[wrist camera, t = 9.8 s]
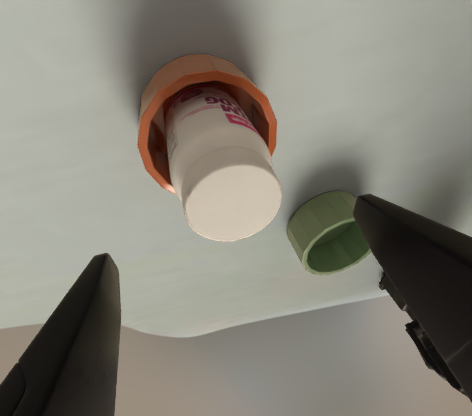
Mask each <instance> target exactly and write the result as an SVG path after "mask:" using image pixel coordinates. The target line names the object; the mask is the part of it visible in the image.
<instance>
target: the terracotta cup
mask: <svg viewBox="0 0 472 416" xmlns="http://www.w3.org/2000/svg"><path fill="white" fill-rule="evenodd" d="M198 84H210V85H215V86H218V87H220V88H222V89H224V90H226V91H227V92H229V93H230V94H231V95H232V96H233V97H234V99H235V100H236V101H237V103H238V104H239V106H240V107H241V108H242V110H243V112H244V113H245V114H246V116H247V117H248V119H249V120H250V122H251V123H252V125H253V126H254V128H255V129H256V130H257V132H258V133H259V134H260V136H261V137H262V139H263V140H264V142H265V143H266V145H267V147H268V149H269V152H270V154H271V156H272V154H273V152H274V149H275V147H276V132H277V121H276V118H275V115H274V113H273V110H272V108H271V105H270V103H269V101H268V98H267V97H266V96H265V94H264V93H263V92H262V91H261V90H260V89H259V88H258V87H257V86H256V85H255V84H254V83H253V82H252V81H251V80H250V79H249V78H248V77H247V76H246V75H245V74H244V73H243V72H242V71H240V70H239V69H238V68H237V67H236V66H235V65H234V64H233V63H232V62H230V61H227V60H224V59H222V58H219V57H216V56H212V55H208V54H194V55H187V56H183V57H179V58H177V59H175V60H173V61H171V62H169V63H167V64H166V65H165V66H163V67H162V68H161V69H159V70H158V71H157V72H156V73H155V74H154V76H153V77H152V78H151V80H150V81H149V83H148V84H147V86H146V88H145V90H144V92H143V94H142V96H141V105H140V114H139V127H138V149H139V152H140V154H141V157H142V160H143V163H144V166H145V169H146V171H147V172H148V173H149V174H150V175H151V176H152V177H153V178H154V179H155V180H156V181H157V182H158V184H159V185H160V186H161V187H162V188H164V189H166V190H168V191H170V192H172V193H174V194H176V193H175V191H174V188H173V185H172V182H171V177H170V169H169V160H168V151H167V141H166V132H165V118H166V113H167V110H168V107H169V105H170V103H171V102H172V100H173V99H174V98H175V96H176V95H178V94H179V93H180V92H181V91H183V90H184V89H186V88H188V87H191V86H193V85H198ZM176 195H177V194H176Z"/></svg>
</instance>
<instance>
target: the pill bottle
mask: <svg viewBox="0 0 472 416" xmlns="http://www.w3.org/2000/svg"><path fill="white" fill-rule="evenodd" d="M165 132H166V141H167V151H168V160H169V169H170V177H171V182H172V185H173V188H174V191H175V193H176V194H177V196H178V197H179V199H180V200H181V201H182V204H183V208H184V214H185V217H186V220H187V222H188V224H189V225H190V227H191V228H192V229H193V230H194V231H195V232H196V233H198V234H199V235H201V236H203V237H205V238H207V239H210V240H214V241H235V240H240V239H244V238H246V237H249V236H251V235H253V234H255V233H257V232H259V231H260V230H262V229H263V228H264V227H265V226H266V225H268V224H269V223H270V222H271V220H272V219H273V218H274V217H275V215H276V214H277V212H278V210H279V207H280V205H281V200H282V189H281V185H280V183H279V180H278V179H277V177H276V175H275V173H274V171H273V169H272V159H271V154H270V152H269V149H268V147H267V145H266V143H265V142H264V140H263V139H262V137H261V136H260V134H259V133H258V132H257V130H256V129H255V128H254V126H253V125H252V123H251V122H250V120H249V119H248V117H247V116H246V114H245V113H244V112H243V110H242V108H241V107H240V106H239V104H238V103H237V101H236V100H235V99H234V97H233V96H232V95H231V94H230V93H229V92H227V91H226V90H224V89H222V88H220V87H218V86H215V85H210V84H198V85H193V86H191V87H188V88H186V89H184V90H183V91H181V92H180V93H179V94H178V95H176V96H175V98H174V99H173V100H172V102H171V103H170V105H169V107H168V110H167V113H166V118H165Z"/></svg>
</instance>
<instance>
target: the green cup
mask: <svg viewBox="0 0 472 416" xmlns="http://www.w3.org/2000/svg"><path fill="white" fill-rule="evenodd" d="M356 200H357V199H356V198H355V197H354V196H353V195H352V194H350V193H348V192H344V191H332V192H327V193H324V194H321V195H318V196H316V197H314V198H312V199H311V200H309V201H308V202H306V203H305V204H304V205H302V206H301V207H300V208H299V209H298V210H297V211H296V213H295V214H294V215H293V217H292V218H291V220H290V222H289V225H288V229H287V234H288V238H289V240H290V242H291V244H292V246H293V248H294V249H295V251H296V253H297V255H298V257H299V259H300V261H301V263H302V264H303V266H304V268H305V270H306V271H308V272H310V273H313V274H315V275H329V274H333V273H336V272H340V271H343V270H345V269H347V268H349V267H351V266H353V265H355V264H357V263H358V262H359V261H361V260H362V259H363V258H365V257H366V256H367V255H368V254H369V253H370V252H371V250H370V248H369V246H368V244H367V242H366V240H365V238H364V237H363V235H362V233H361V231H360V229H359V227H358V225H357V223H356V221H355V219H354V217H353V210H354V206H355V203H356Z"/></svg>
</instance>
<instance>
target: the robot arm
mask: <svg viewBox="0 0 472 416" xmlns="http://www.w3.org/2000/svg"><path fill="white" fill-rule="evenodd" d="M353 217H354V219H355V221H356V223H357V225H358V227H359V229H360V231H361V233H362V235H363V237H364V238H365V240H366V242H367V244H368V246H369V248H370V250H371V251H372V253H373V255H374V256H375V258H376V259H377V261H378V262H379V264H380V265H381V267H382V268H383V270H384V271H385V273H386V274H385V276H384V278H383V280H382V282H381V284H380V286H379V287H380V289H381V290H384V289H386V290H387V292H388V293H389V294H390V296H391V297H392V298H393V300H394V301H395V302H396V304H397V305H398V306H399V308H400V309H401V310H402V311H406V312H407V313H408V315H409V316H410V317H411V319H412V320H413V321H412V322H411V323H407V324H406V325H405V326H406V328H407V329H406V331H407V333H408V334H409V335H410V337H411V338H412V340H413V341H414V343H415V344H416V346H417V348H418V350H419V352H420V354H421V356H422V358H423V360H424V362H425V364H426V366H427V367H428V368H429V369H431V370H434V371H435V372H436V373H437V374H439V376H440V377H442V378H443V379H444V380H447V381H448V382H449V383H450V385H451V386H452V387H453V388H455V389H457V390H458V391H459V392H461V393H462V394H464V395H465V396H467V397H468V398H469V399H470V400H471V402H472V237H470V236H468V235H465V234H463V233H461V232H458V231H456V230H454V229H451V228H449V227H447V226H444V225H442V224H440V223H437V222H435V221H432V220H430V219H428V218H425V217H423V216H421V215H418V214H416V213H414V212H411V211H409V210H407V209H404V208H402V207H400V206H397V205H395V204H393V203H390V202H388V201H386V200H383V199H381V198H379V197H376V196H374V195H372V194H364V195H360V196H358V197H357V200H356V203H355V206H354V210H353ZM120 327H121V303H120V285H119V271H118V268H117V266H116V265H115V263H114V261H113V260H112V258H111V256H110V255H109V254H108V253H104V254H100V255H96V256H94V257H93V258H92V260H91V261H90V263H89V264H88V265H87V267H86V268H85V269H84V271H83V272H82V273H81V275H80V276H79V278H78V279H77V280H76V282H75V283H74V284H73V286H72V287H71V289H70V290H69V291H68V293H67V294H66V295H65V297H64V298H63V300H62V301H61V302H60V304H59V305H58V306H57V308H56V309H55V311H54V312H53V313H52V315H51V316H50V317H49V319H48V320H47V322H46V323H45V324H44V326H43V327H42V329H41V330H40V331H39V333H38V334H37V335H36V337H35V338H34V339H33V341H32V342H31V344H30V345H29V346H28V348H27V349H26V351H25V352H24V353H23V355H22V356H21V357H20V359H19V361H18V362H19V363H16V364H15V365H14V367H13V368H12V370H11V371H10V372H9V374H8V375H7V376H6V378H5V379H4V380H3V382H2V383H1V384H0V416H114V412H115V398H116V383H117V369H118V355H119V341H120V340H119V339H120Z"/></svg>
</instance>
